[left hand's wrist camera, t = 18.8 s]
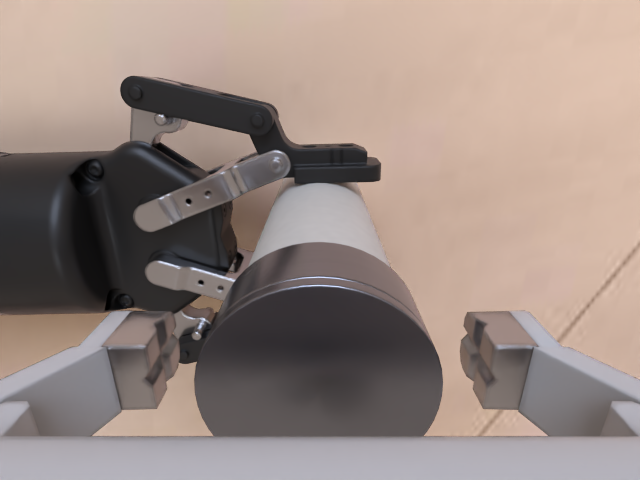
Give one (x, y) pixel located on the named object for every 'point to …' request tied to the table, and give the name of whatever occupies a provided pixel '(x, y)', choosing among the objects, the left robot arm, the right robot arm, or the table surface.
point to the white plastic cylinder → (319, 219)
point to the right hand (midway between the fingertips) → (374, 226)
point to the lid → (318, 350)
